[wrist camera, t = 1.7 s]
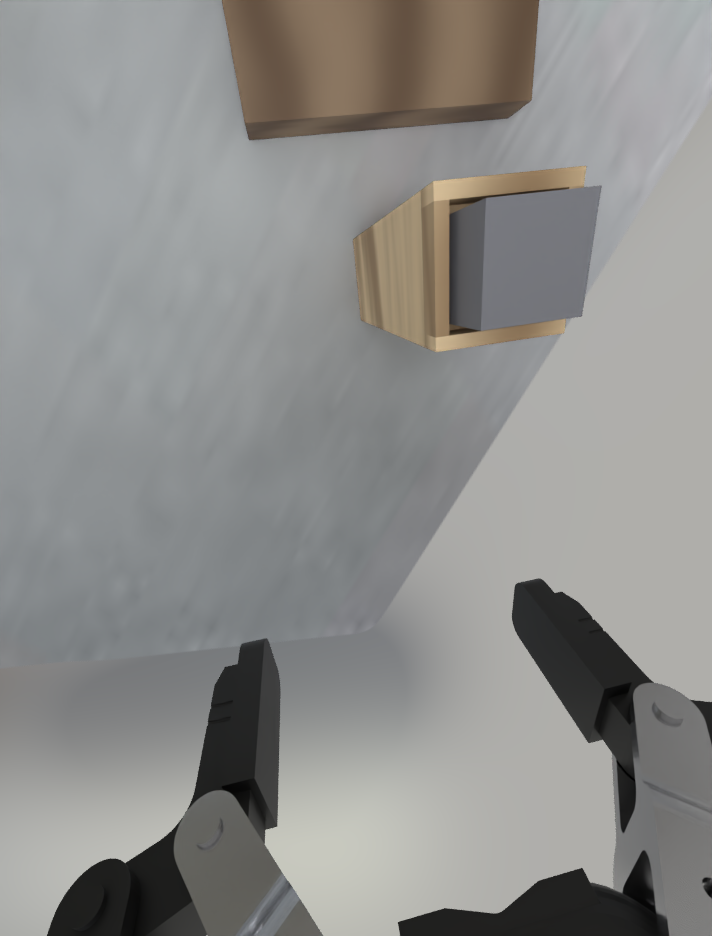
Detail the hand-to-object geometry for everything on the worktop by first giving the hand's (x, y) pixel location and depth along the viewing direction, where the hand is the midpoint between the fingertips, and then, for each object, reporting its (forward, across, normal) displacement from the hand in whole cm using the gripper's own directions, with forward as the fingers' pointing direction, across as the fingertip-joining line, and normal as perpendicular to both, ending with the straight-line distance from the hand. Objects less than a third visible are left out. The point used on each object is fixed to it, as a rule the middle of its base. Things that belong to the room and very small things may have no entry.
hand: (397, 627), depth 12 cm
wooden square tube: (+20, +6, +10) cm, 23 cm away
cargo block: (+6, +6, +10) cm, 13 cm away
